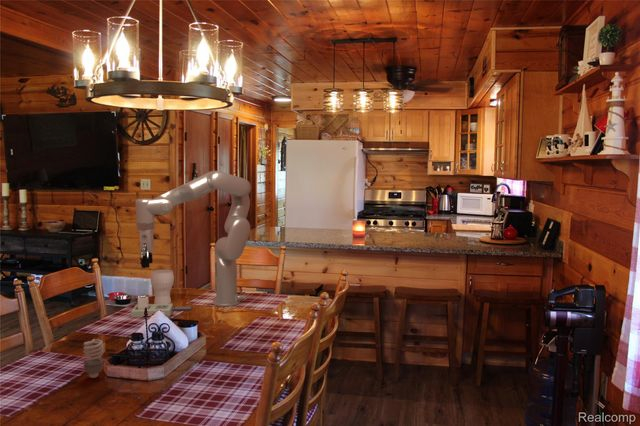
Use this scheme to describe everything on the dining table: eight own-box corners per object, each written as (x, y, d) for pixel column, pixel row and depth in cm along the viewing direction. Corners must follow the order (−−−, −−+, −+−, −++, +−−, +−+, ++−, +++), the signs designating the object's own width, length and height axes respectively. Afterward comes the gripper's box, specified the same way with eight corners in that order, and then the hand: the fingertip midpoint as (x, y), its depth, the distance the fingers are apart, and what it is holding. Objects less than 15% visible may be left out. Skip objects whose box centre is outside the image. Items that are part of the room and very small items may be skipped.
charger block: (148, 312, 231) (148, 296, 230) (147, 314, 227) (147, 298, 227) (139, 312, 230) (138, 296, 230) (137, 314, 226) (137, 298, 226)
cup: (149, 301, 250) (149, 270, 249) (172, 299, 254) (171, 268, 253) (152, 306, 240) (152, 274, 239) (175, 304, 245) (175, 272, 244)
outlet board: (172, 308, 237) (172, 302, 236) (169, 316, 225) (169, 309, 225) (136, 309, 234) (136, 303, 234) (131, 317, 222) (131, 310, 222)
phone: (192, 309, 239) (192, 306, 239) (191, 311, 234) (191, 308, 234) (174, 309, 238) (174, 306, 238) (172, 312, 233) (172, 309, 233)
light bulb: (98, 373, 161) (97, 335, 160) (107, 378, 158) (106, 339, 157) (80, 378, 157) (79, 339, 156) (89, 383, 154) (88, 344, 153)
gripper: (151, 228, 219) (153, 268, 221) (157, 224, 236) (158, 261, 238) (133, 229, 218) (135, 269, 220) (139, 224, 235) (141, 262, 236)
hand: (147, 265), depth 229 cm, fingers open, 9 cm apart
